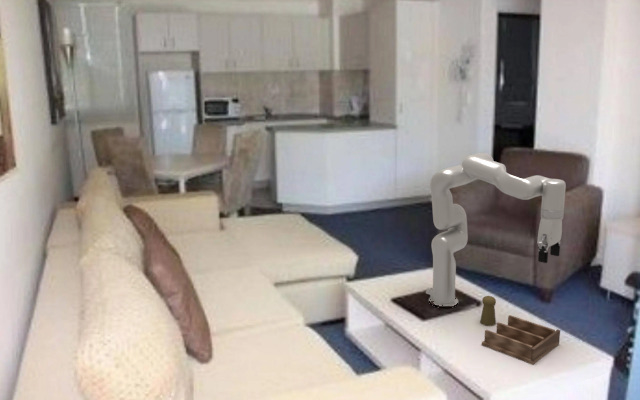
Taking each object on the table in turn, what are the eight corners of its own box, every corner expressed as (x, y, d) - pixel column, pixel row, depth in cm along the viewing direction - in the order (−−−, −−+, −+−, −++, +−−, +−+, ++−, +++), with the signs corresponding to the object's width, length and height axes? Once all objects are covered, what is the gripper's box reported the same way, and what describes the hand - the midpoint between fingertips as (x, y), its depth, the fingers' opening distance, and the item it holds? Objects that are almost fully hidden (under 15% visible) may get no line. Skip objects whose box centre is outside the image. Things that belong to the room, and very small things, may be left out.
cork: (496, 326, 225) (497, 300, 222) (480, 325, 226) (481, 299, 224) (495, 319, 231) (496, 294, 228) (479, 318, 232) (480, 293, 229)
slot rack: (481, 345, 211) (482, 331, 210) (508, 327, 224) (509, 313, 223) (533, 364, 197) (534, 349, 195) (559, 344, 210) (560, 330, 209)
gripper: (552, 207, 213) (549, 250, 217) (530, 216, 202) (527, 262, 206) (572, 210, 208) (569, 255, 212) (551, 220, 196) (548, 267, 200)
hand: (548, 258), depth 209 cm, fingers open, 9 cm apart
